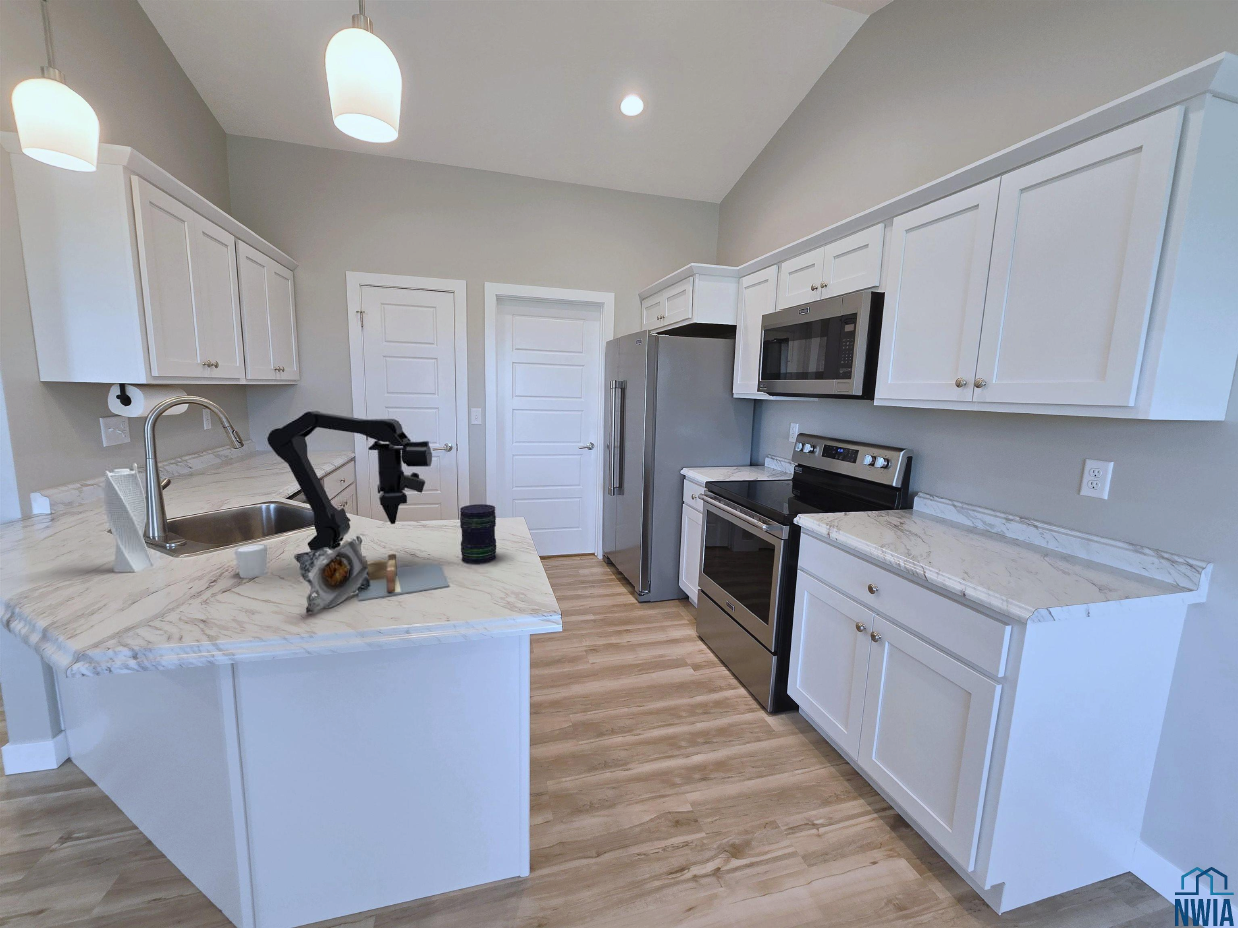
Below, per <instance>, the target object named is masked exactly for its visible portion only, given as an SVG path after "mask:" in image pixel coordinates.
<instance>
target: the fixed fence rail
mask: <svg viewBox="0 0 1238 928" xmlns="http://www.w3.org/2000/svg"><path fill="white" fill-rule="evenodd" d="M365 564H366V565H367V566H368V573H369V579H370V581H372V580H379V579H386V571H387V568H388V563H387V559H381V560H373V561H368V560H366V559H365Z"/></svg>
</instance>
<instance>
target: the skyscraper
mask: <svg viewBox="0 0 1238 928" xmlns="http://www.w3.org/2000/svg"><path fill="white" fill-rule="evenodd" d="M132 465H133V467H132V468H133V470H130V468H118V469H113V472H110V471H108V470H106V471H105V474H104V475H105V476H104V487H103V488H104V490H103V495H104V496H103V499H104V500H103V501H104V510H105V515H106V519H107V523H108V526H109V528H110V530H111V533H112V536H113V537H114V540H115V543H116V544H115V553H114V563H113V573H137V572H139V571H141V570H142V571H143V570H145V569H147V568H149V567H153V566H154V562H153V560H152V557H151V555H150V551H149V549H148V547H147V545H146V542H145V539H144V532H145V527H146V522H147V501H146V495H145V492H144V489H143V488H144V487H143V486H142V485H143V484H142V482H141V479H140V476H139V473H138V471H139V470H138V465H137V463H136V462H135V463H133V464H132Z"/></svg>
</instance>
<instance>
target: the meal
mask: <svg viewBox="0 0 1238 928" xmlns="http://www.w3.org/2000/svg"><path fill="white" fill-rule="evenodd" d="M362 544H363V539H362V538H361V536H360V535H356V536H355V537H353V538H350V539H346V540H345V541H344V542H342V544H341V546H339V547H337V548H336V549H331V548H322V549H319V550H316V551H314V550H313V551H311V550H310V551H306V552H301V553H296V554H294V555H293V558H294V560H295V561H296V562H297V563H299V571H300V572H299V573H300V575H301V577H302V580H303V581H305V582H307V584H308V585H309V586H310V587H311V588H310V591H309V593H308V594H307V596H306V602H307V606H306V608H305V613H306V614H309V613H315V612H317V611H318V610H320V609H323V608H325V609H326V608H333V607H335V606H337V605H339V604H340V603H342V602H343V601H345V600H346V599H347V598H348V597H349V596H350V595H351V594H355V593H356V592H358V590H360V589H364V587H366V588H368V587H370V579H369V573H368V566H367V565H366V564H365V560H366V558H367V555H363V551H362ZM361 586H363V587H361ZM314 594H316V595H314ZM313 595H314V596H313Z"/></svg>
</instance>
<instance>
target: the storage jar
mask: <svg viewBox="0 0 1238 928" xmlns="http://www.w3.org/2000/svg"><path fill="white" fill-rule="evenodd" d="M459 511H460V512H459V514H460V515H459V516H460V517H459V523H460V524H459V527H460V529H461V541H460V552H461V562H462V563H463V564H467V565H484V564H485V565H486V564H488V563H492V562H494V561H495V560H496V559H497V555H496V553H497V539H496V526H497V525H496V524H497V521H496V520H497V515H496V507H495V505H492V504H484V503H483V504H482V503H481V504H480V503H478V504H470V505H469V504H468V505H464V506H461V507H460V508H459Z"/></svg>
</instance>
